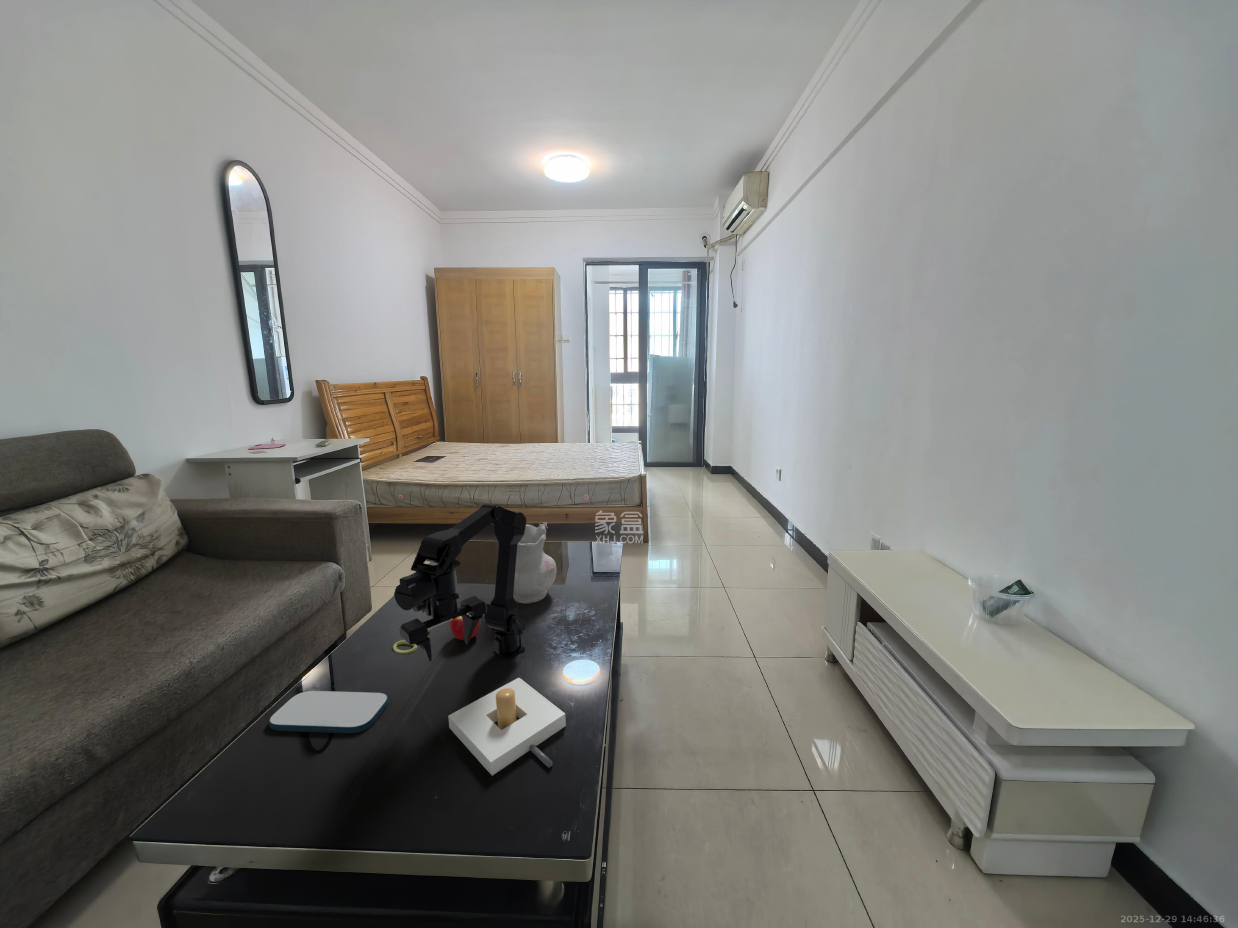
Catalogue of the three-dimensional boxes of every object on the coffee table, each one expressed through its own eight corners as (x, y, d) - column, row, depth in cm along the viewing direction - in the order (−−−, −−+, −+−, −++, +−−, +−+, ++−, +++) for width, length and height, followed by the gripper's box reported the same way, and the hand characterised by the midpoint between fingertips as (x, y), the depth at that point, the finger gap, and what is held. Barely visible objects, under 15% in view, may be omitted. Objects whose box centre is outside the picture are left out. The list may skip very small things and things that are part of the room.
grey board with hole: (519, 688, 116) (519, 677, 115) (585, 741, 98) (584, 728, 98) (449, 727, 103) (448, 715, 103) (510, 796, 86) (509, 782, 85)
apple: (445, 641, 137) (442, 609, 135) (467, 627, 144) (464, 596, 142) (466, 648, 133) (463, 615, 131) (487, 633, 140) (485, 602, 138)
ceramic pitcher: (549, 615, 152) (551, 542, 147) (489, 611, 152) (489, 538, 148) (559, 586, 173) (561, 521, 169) (506, 582, 174) (507, 517, 169)
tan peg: (510, 717, 106) (508, 685, 104) (520, 726, 103) (518, 693, 101) (494, 726, 103) (492, 694, 102) (504, 736, 100) (502, 703, 99)
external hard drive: (394, 699, 113) (393, 692, 113) (365, 736, 102) (364, 728, 101) (301, 696, 115) (299, 689, 114) (262, 732, 104) (261, 724, 103)
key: (433, 631, 143) (432, 624, 143) (412, 655, 131) (412, 648, 131) (410, 630, 144) (409, 624, 143) (388, 654, 132) (387, 647, 131)
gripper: (462, 567, 120) (467, 624, 123) (386, 593, 107) (394, 655, 110) (485, 580, 112) (490, 639, 115) (406, 609, 99) (414, 676, 102)
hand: (448, 651), depth 111 cm, fingers open, 9 cm apart
